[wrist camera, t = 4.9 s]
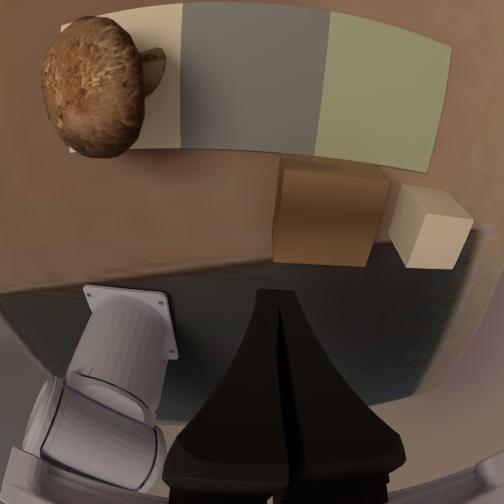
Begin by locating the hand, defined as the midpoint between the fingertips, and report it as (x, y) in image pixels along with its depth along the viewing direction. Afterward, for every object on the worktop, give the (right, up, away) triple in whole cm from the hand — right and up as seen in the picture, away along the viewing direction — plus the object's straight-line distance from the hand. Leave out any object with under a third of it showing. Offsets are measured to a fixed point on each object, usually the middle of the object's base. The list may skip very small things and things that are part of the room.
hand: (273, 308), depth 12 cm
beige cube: (+9, +4, +7) cm, 12 cm away
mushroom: (-9, +12, +3) cm, 16 cm away
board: (-1, +12, +4) cm, 12 cm away
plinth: (+4, +6, +8) cm, 11 cm away
